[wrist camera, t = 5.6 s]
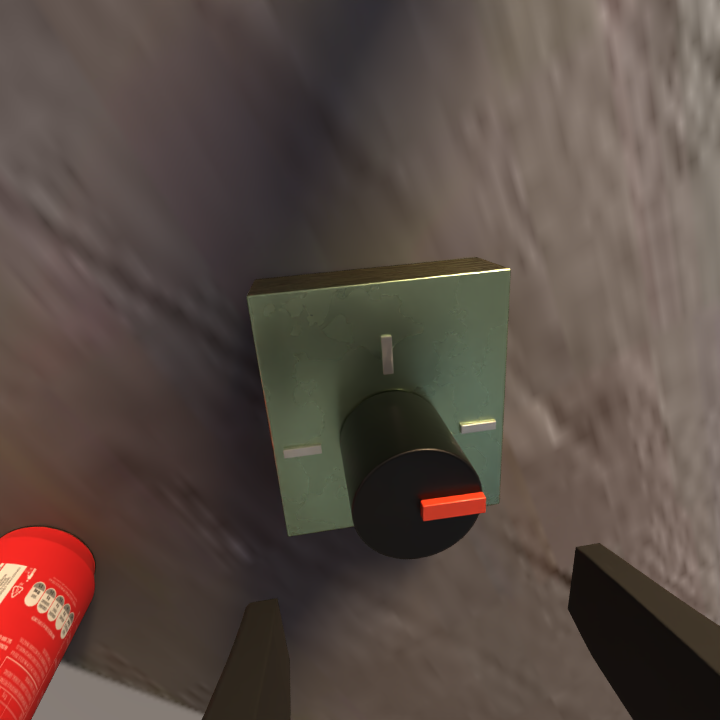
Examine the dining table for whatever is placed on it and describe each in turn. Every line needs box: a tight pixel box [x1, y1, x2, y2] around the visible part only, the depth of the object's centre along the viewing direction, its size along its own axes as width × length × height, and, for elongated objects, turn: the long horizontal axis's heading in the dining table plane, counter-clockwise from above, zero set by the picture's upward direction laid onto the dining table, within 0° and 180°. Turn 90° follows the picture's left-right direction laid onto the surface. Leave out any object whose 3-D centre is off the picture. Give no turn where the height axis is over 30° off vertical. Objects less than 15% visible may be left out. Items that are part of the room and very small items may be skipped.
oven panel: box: [246, 257, 511, 537], centre depth 18 cm, size 10×9×3 cm
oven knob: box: [340, 391, 486, 559], centre depth 15 cm, size 4×4×4 cm
